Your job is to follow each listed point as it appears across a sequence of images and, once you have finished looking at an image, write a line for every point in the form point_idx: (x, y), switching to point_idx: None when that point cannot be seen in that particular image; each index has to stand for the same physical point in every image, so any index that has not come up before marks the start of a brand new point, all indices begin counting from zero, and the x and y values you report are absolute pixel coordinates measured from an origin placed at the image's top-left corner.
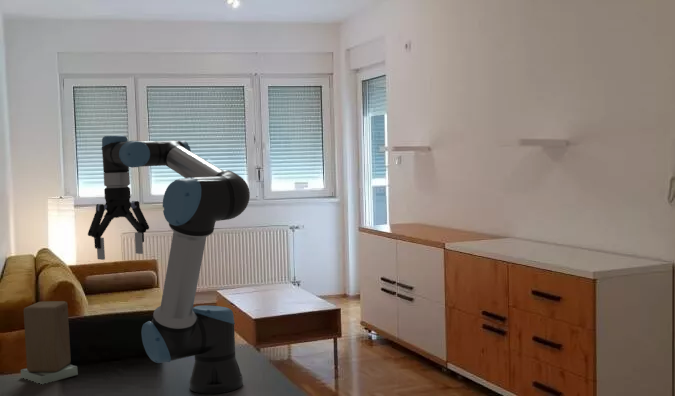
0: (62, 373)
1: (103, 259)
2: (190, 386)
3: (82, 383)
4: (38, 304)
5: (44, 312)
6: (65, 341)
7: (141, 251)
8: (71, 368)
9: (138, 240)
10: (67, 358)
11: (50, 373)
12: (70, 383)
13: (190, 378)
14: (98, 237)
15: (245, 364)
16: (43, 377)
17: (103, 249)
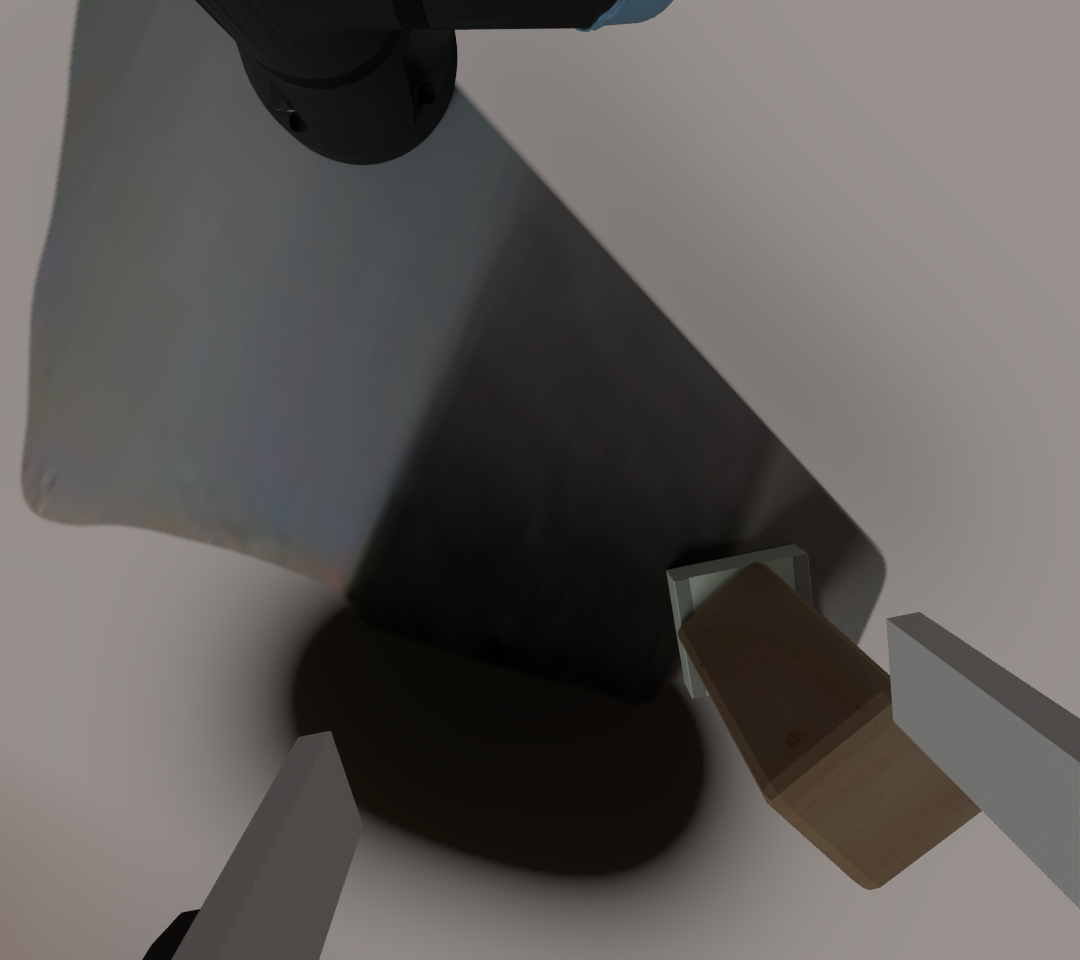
0: (726, 566)
1: (908, 617)
2: (453, 76)
3: (697, 463)
4: (918, 819)
5: None
6: (733, 649)
7: (309, 756)
8: (695, 576)
9: (261, 953)
10: (703, 619)
11: (771, 566)
12: (724, 491)
13: (435, 98)
14: None
15: (136, 241)
16: (796, 553)
17: (1015, 697)
